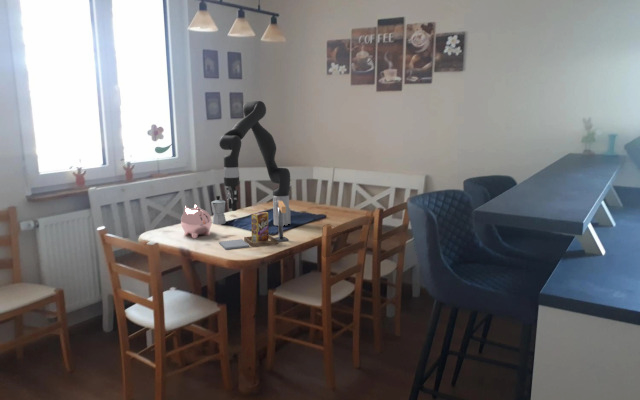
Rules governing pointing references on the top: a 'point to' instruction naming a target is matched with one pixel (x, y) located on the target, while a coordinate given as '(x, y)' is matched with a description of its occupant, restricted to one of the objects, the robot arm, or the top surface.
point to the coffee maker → (218, 211)
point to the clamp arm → (281, 206)
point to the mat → (233, 244)
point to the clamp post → (280, 227)
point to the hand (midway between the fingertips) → (232, 209)
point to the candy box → (260, 227)
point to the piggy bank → (196, 221)
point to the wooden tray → (261, 243)
